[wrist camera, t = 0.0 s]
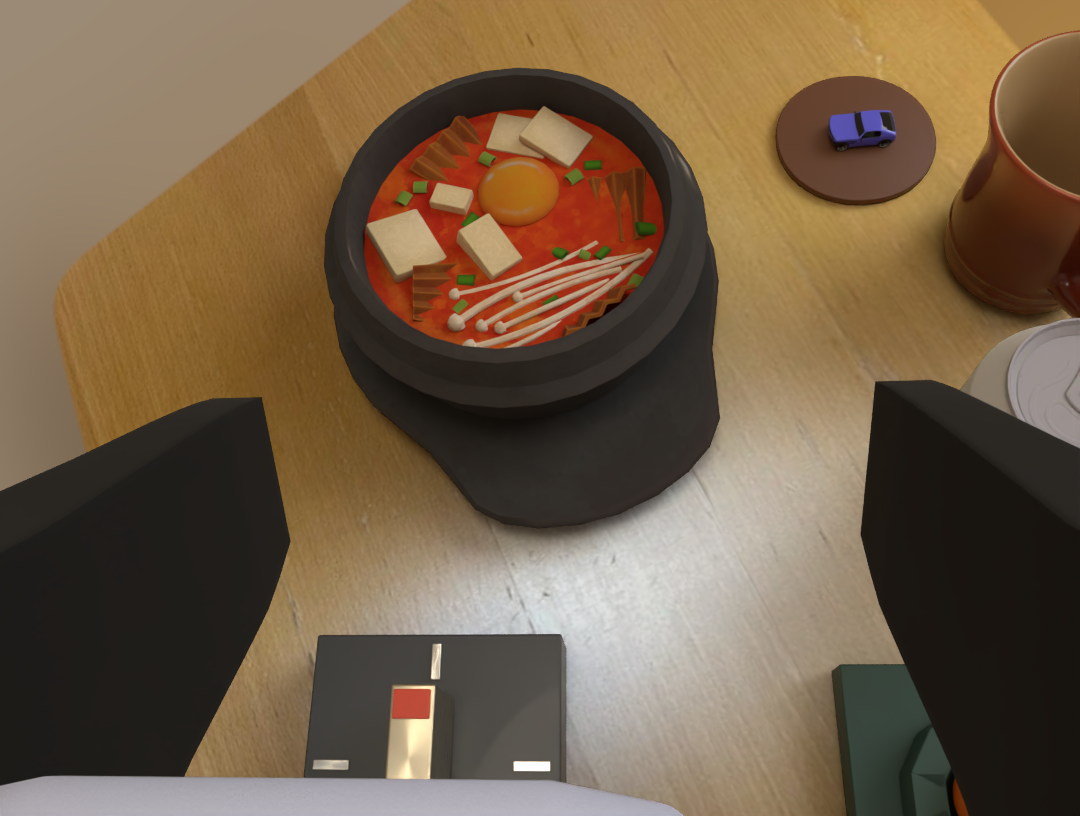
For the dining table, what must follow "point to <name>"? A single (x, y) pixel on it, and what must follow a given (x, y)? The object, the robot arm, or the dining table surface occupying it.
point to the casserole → (530, 293)
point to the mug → (1025, 188)
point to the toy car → (855, 140)
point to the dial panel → (464, 674)
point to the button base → (889, 745)
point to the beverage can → (1035, 378)
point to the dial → (419, 732)
